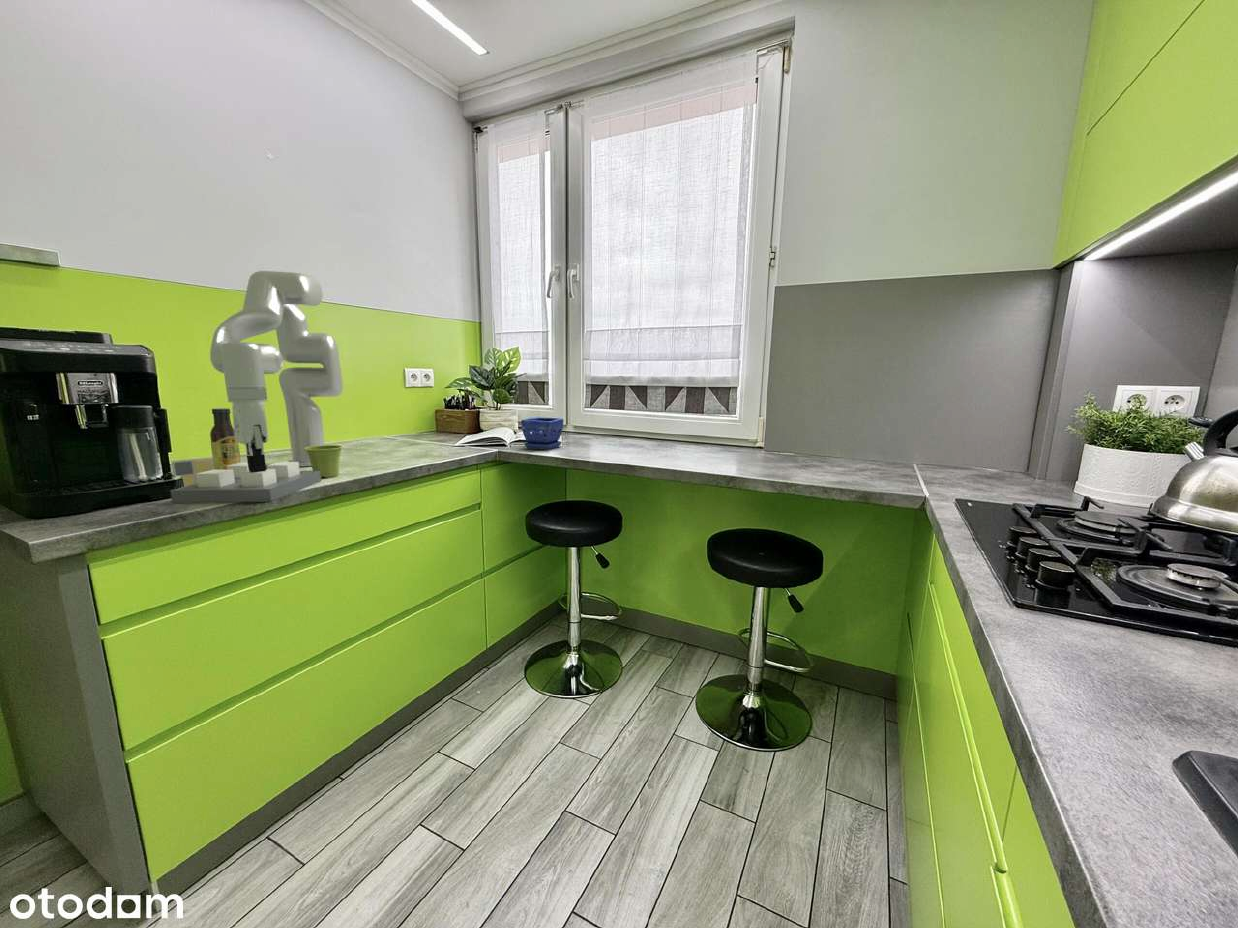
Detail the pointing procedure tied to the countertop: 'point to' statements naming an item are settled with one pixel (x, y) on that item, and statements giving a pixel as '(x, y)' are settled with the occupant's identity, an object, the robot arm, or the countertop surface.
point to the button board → (245, 490)
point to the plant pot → (325, 459)
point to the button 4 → (285, 469)
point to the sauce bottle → (223, 440)
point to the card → (191, 468)
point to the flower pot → (542, 432)
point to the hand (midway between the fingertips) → (257, 471)
